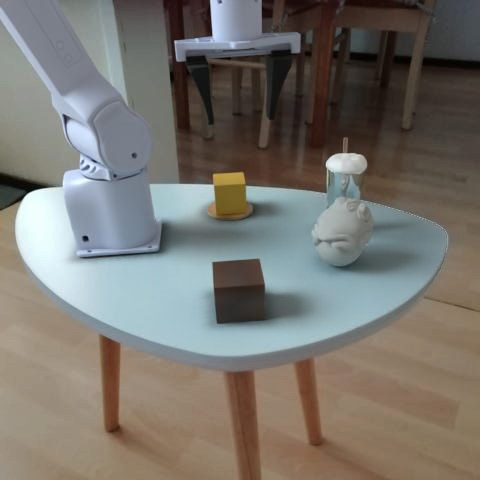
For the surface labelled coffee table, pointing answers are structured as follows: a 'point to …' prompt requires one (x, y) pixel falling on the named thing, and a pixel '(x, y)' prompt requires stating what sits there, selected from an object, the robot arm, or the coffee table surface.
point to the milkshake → (345, 175)
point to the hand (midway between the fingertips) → (240, 120)
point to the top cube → (230, 193)
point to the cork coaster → (229, 216)
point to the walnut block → (238, 290)
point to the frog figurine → (343, 231)
